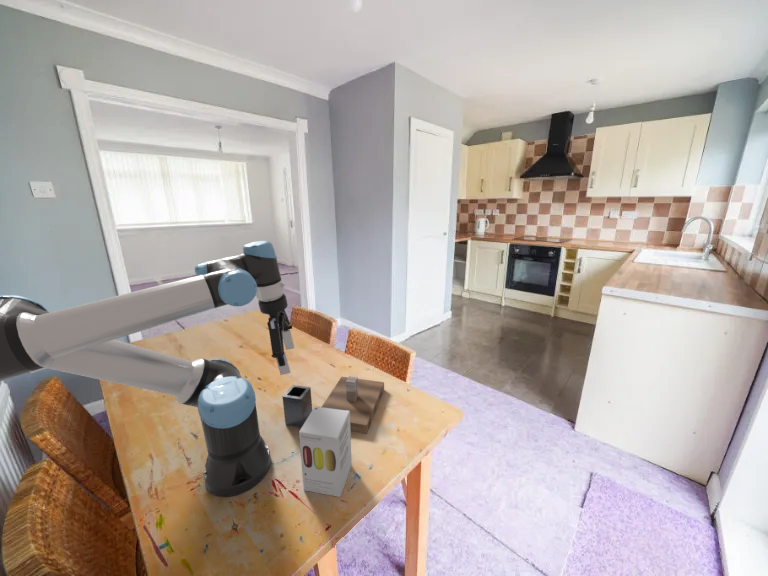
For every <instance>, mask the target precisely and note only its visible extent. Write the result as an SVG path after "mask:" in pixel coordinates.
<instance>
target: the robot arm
mask: <svg viewBox="0 0 768 576" xmlns="http://www.w3.org/2000/svg"><path fill="white" fill-rule="evenodd" d="M242 249H243V250H242V253H240V254H236V255H231V256H227V257H222V258H218V259H215V260H207V261H205V262H203V263H199V264H198V263H197V264H196V265H195V266H194V274H195V276H191V277H188V278H187V277H186V278H184V279H180V280H176V281H171V282H168V283H163V284H159V285H156V286H152V287H147V288H143V289H139V290H135V291H132V292H126V293H123V294H120V295H115V296H111V297H110V296H109V297H107V298H102V299H99V300H95V301H90V302H87V303H83V304H80V305H79V304H78V305H74V306H71V307H66V308H62V309H59V310H55V311H51V312H50V311H48V309H47V308H46V307H45V306H44V305H42V304H41V303H39V302H38V301H36V300H35V299H32V298H29V297H26V296H21V295H15V294H0V381H5V380H8V379H12V378H15V377H18V376H23V375H25V374H34V373H37V372H40V371H43V370H46V369H48V370H49V369H50V370H54V371H58V372H63V373H68V374H72V375H77V376H82V377H87V378H91V379H95V380H100V381H105V382H109V383H115V384H120V385H124V386H129V387H132V388H133V387H134V388H138V389H144V390H147V391H153V392H157V393H161V394H166V395H170V396H174V397H175V399H176V401H177V403H178V404H180V405H186V406H190V407H195V408H197V411H198V415H199V418H200V421H201V426H202V430H203V435H204V441H205V445H206V450H207V458H206V462H205V467H204V470H203V480H204V484H205V487H206V489H207V491H208V492H209V493H210V494H212V495H214V496H217V497H225V498H227V497H233V496H237V495H240V494H243V493H245V492H247V491H249V490H250V489H252V488H254V487H255V486H257V485H258V484H259V483H260V482H261V481H262V480H263V478H264V477H265V476H266V475H267V473H268V472H269V470H270V467H271V464H272V457H271V451H270V447H269V446H268V445H267V443H266V442H265V440H264V439H263V437H262V435H261V433H260V424H259V418H258V417H259V416H258V413H257V412H258V411H257V403H256V401H257V400H256V399H257V398H256V393H255V390H254V387H253V385H252V384H251V382H250V381H249V380H248V379H246V378H244V377H242V375H241V373H240V370H239V369H238V368H237V367H236V366H235V365H234V364H233V363H232V362H230V361H229V360H227V359H223V358H211V359H209V360H208V359H205V358H202V357H199V358H197V359H196V358H195V359H194V360H191V361H190V360H187V359H183V358H180V357H176V356H173V355H170V354H166V353H163V352H159V351H156V350H153V349H148V348H146V347H142V346H138V345H136V344H131V343H128V342H125V341H121V340H118V339H120V338H124V337H126V336H130V335H133V334H136V333H139V332H142V331H145V330H150V329H152V328H155V327H158V326H161V325H164V324H165V325H166V324H168V323H172V322H176V321H178V320H181V319H184V318H188V317H192V316H195V315H197V314H201V313H204V312H207V311H210V310H214V309H216V308H221V307H224V306H228V305H229V306H231V307H242V306H246V305H248V304H250V303H251V302H252V301H253V300H254V299H255V297H256V299H257V304H258V307H259V310H260V312H261V314H264V315H269V317H268V321H267V323H266V325H267V327H268V332H269V333H268V334H269V340H270V345H271V353H272V354H271V358H273V359H275V360H276V364H277V368H278V370H279V375H280V376H281V375H283V376H284V375H288V374H291V368H290V365H289V361H288V357H287V354H286V352H285V350H286V351H288V350H292V349H293V350H294V349H295V344H294V340H293V336H292V331H291V330H293V325H291V322H290V319H289V316H288V314H287V311H286V309H287V308H288V305H289V303H288V300H287V297H286V294H285V289H284V287H285V286H286V284H285V282H283V280H282V277H281V273H280V269H279V264H278V260H277V258H278V257H277V255H276V252H275V248H274V245H273V243H272V242H270V241H269V240H257V241H252V242H250V243H246V244H244V245H243V246H242Z"/></svg>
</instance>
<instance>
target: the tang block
mask: <svg viewBox="0 0 768 576" xmlns="http://www.w3.org/2000/svg"><path fill="white" fill-rule="evenodd" d="M384 391H385V382H384V381H377V380H370V379H369V380H368V379H362V378H358V376H351V375H349V376H348V377H347V376H340V378H339V380H338V381H337V383H336V385H335V386H334V388H333V389H332V390H331V392H330V394H329V395H328V397H327V398H326V399H325V401H324V403H323V404H322V406H321V407H323V408H330V409H338V410H348V411H350V430H351V432H353V433H354V432H356V433H360V434H365V435H367V434H368V431H369V429H370V427H371V424H372V422H373V419H374V416H375V414H376V411H377V409H378V406H379V404H380V402H381V399H382V396H383V394H384Z"/></svg>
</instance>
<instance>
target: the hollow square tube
mask: <svg viewBox="0 0 768 576" xmlns="http://www.w3.org/2000/svg"><path fill="white" fill-rule="evenodd" d="M281 398H282V405H283V412H284V413H283V414H284V422H285V426H290V427H297V428H300V429H301V428H302V426H303V425H304V423H305V421H306V420H307V418H308V416H309V415H310V413H311V412H312V410H313V402H312V389H311V386H303V385H299V384H298V385H296V384H292V385H291V386H290V387H289V388H288V389H287V391H286V392H285V393H284V394H283V395H282V397H281Z"/></svg>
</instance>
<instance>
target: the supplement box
mask: <svg viewBox="0 0 768 576" xmlns="http://www.w3.org/2000/svg"><path fill="white" fill-rule="evenodd" d="M298 434H299V447H300V448H299V449H300V458H301V459H300V460H301V462H300V463H301V471H302V487H303V491H306V492H312V493H318V494H322V495H328V496H332V497H333V496H335V497H337V498H340V497H341V496H342V495H343V492H344V489H345V486H346V483H347V479H348V478H349V474H350V472H351V468H352V465H353V463H352V442H351V441H352V431H351V430H350V411H348V410H338V409H330V408H323V407H322V406H316V405H315V406H314V407H312V412H311V413H310V415H309V416H308V418H307V420H306V421H305V423H304V425H303V426H302V428H301V427H300V430H299V432H298Z"/></svg>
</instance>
